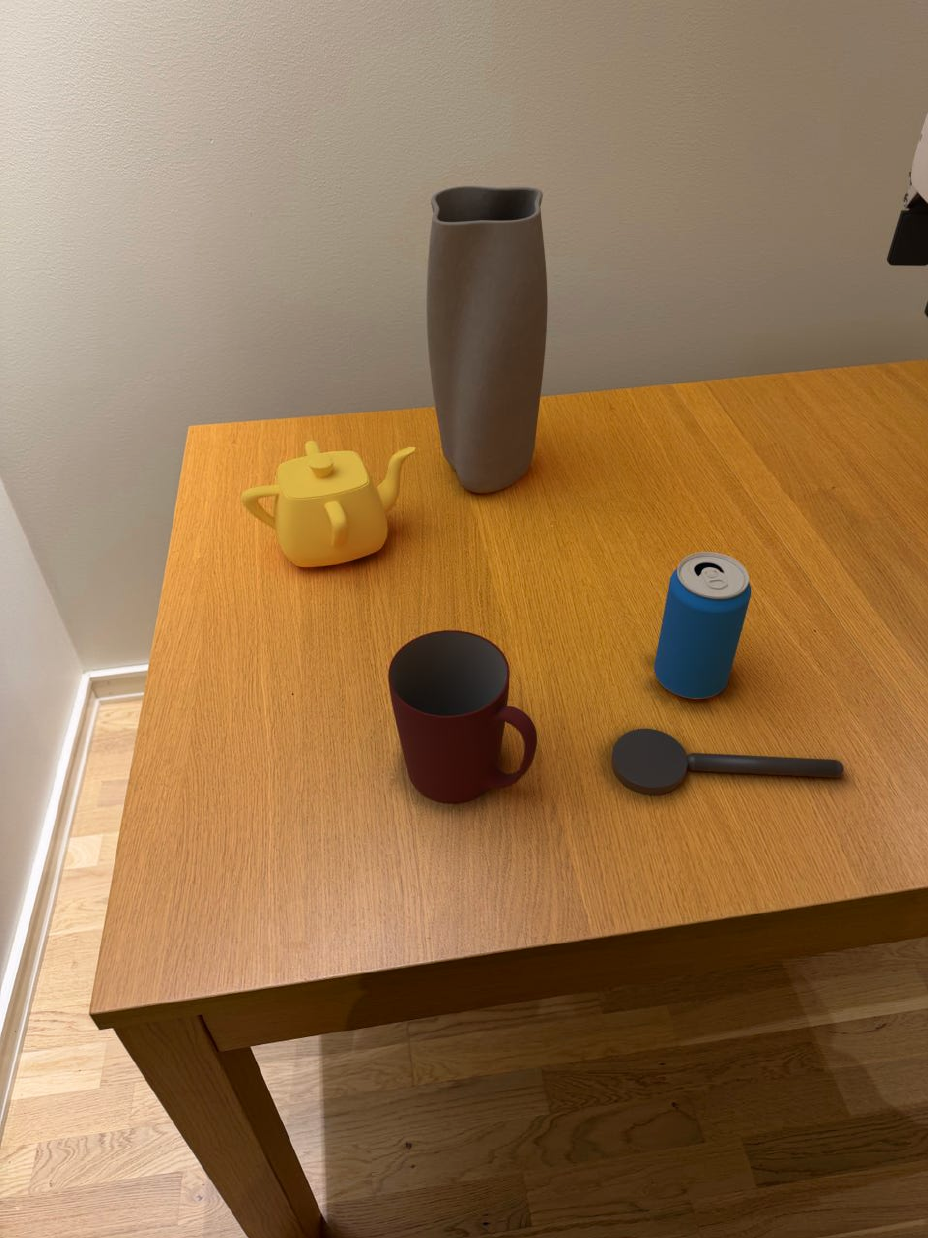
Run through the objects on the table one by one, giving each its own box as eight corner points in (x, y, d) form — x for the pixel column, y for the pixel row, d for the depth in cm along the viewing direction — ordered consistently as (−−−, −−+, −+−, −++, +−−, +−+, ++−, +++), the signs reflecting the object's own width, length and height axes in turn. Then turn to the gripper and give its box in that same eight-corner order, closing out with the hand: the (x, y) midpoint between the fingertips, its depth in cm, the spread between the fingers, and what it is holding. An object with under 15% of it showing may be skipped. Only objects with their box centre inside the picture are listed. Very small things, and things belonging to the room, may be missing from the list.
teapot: (327, 491, 102) (314, 411, 95) (422, 523, 97) (416, 441, 90) (248, 557, 93) (228, 474, 86) (348, 596, 88) (335, 511, 81)
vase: (545, 448, 107) (559, 184, 87) (533, 507, 99) (545, 227, 78) (446, 441, 109) (436, 179, 89) (425, 497, 100) (409, 221, 80)
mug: (561, 776, 71) (569, 681, 64) (495, 852, 66) (497, 759, 59) (444, 709, 77) (439, 614, 69) (375, 775, 72) (362, 680, 64)
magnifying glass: (832, 745, 73) (836, 734, 72) (850, 805, 69) (855, 794, 68) (609, 734, 74) (611, 723, 73) (612, 793, 70) (614, 782, 69)
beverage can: (711, 648, 82) (735, 544, 74) (738, 699, 77) (768, 594, 69) (643, 657, 81) (660, 553, 73) (667, 709, 76) (688, 605, 68)
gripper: (1151, 42, 48) (1022, 341, 60) (1027, -8, 61) (941, 247, 72) (1007, 43, 49) (907, 340, 60) (914, -7, 61) (846, 246, 73)
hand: (926, 289), depth 66 cm, fingers open, 9 cm apart
